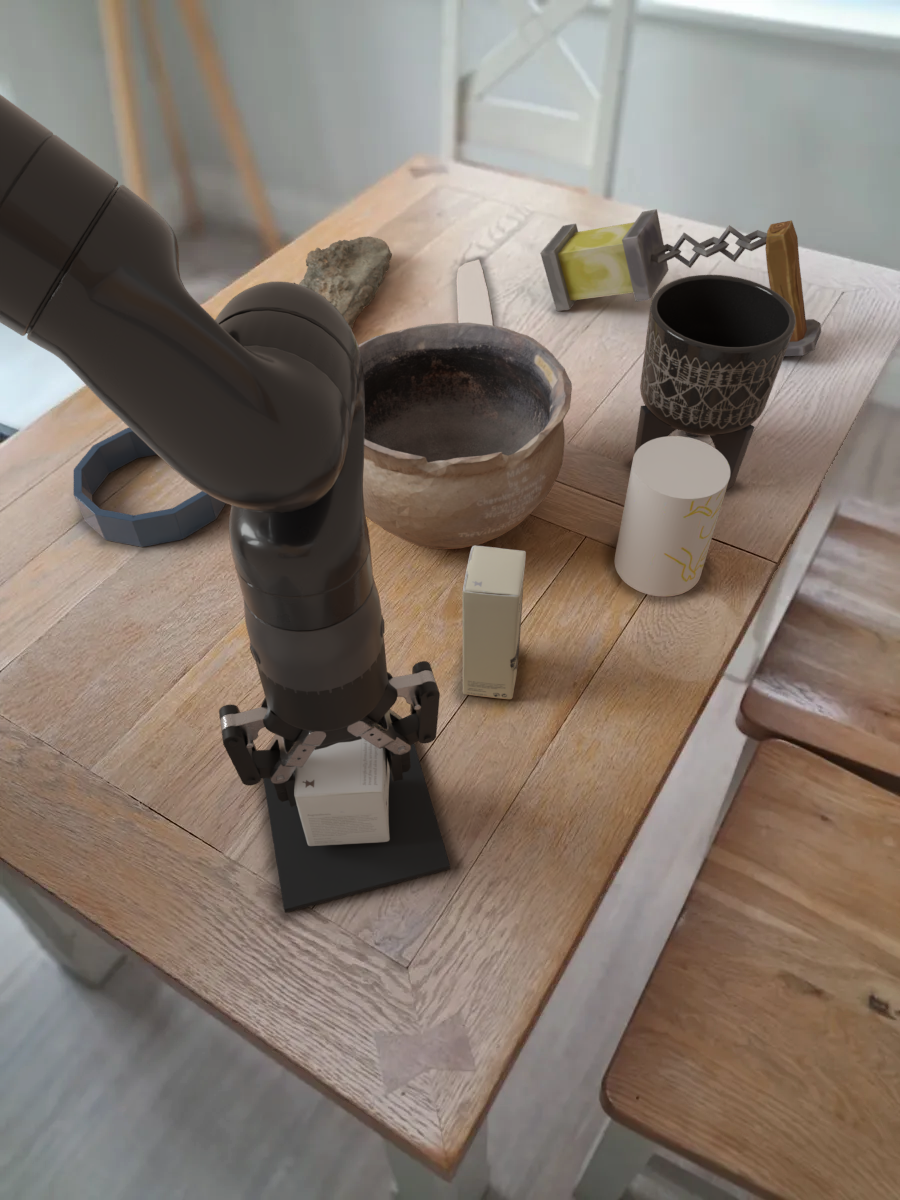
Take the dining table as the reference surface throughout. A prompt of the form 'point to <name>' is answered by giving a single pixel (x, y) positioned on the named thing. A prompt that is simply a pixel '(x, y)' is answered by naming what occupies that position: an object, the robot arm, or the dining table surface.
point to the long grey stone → (348, 273)
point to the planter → (712, 360)
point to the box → (492, 621)
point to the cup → (670, 514)
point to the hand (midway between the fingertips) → (344, 782)
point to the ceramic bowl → (459, 431)
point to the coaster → (358, 847)
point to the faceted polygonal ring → (140, 526)
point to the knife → (473, 295)
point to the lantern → (666, 265)
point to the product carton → (344, 794)
